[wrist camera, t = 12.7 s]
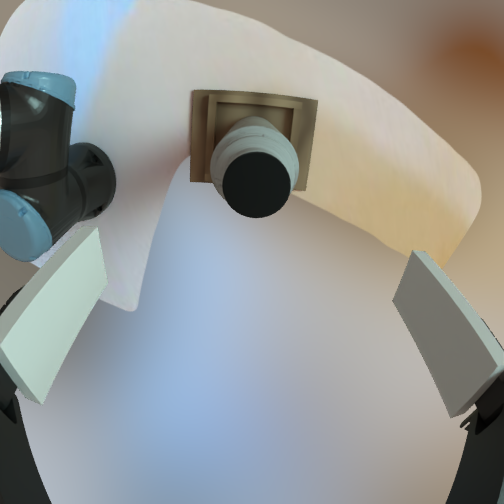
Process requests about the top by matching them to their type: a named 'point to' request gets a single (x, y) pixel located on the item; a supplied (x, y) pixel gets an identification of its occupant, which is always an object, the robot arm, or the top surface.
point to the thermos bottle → (254, 168)
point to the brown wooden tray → (244, 105)
